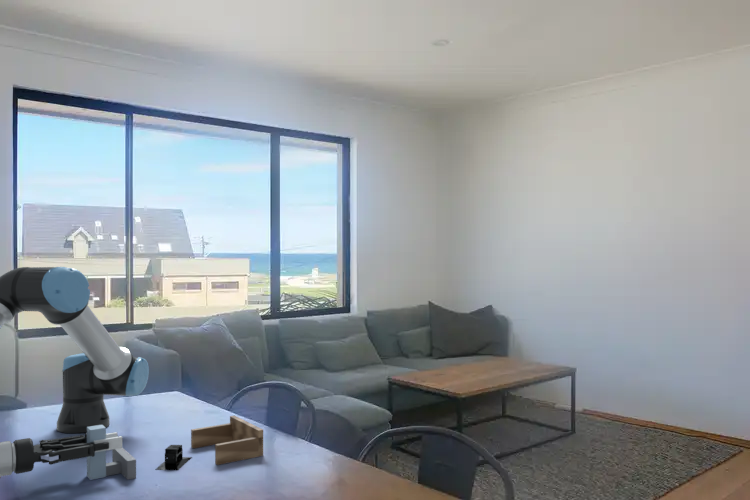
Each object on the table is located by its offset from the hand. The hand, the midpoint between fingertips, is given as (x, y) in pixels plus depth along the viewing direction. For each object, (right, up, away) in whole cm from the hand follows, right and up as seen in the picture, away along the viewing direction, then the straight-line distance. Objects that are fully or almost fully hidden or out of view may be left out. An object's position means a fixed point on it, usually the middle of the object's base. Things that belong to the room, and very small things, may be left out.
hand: (119, 439), depth 163 cm
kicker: (-2, -8, -2) cm, 8 cm away
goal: (+23, -8, +17) cm, 30 cm away
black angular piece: (+12, -9, +7) cm, 16 cm away
